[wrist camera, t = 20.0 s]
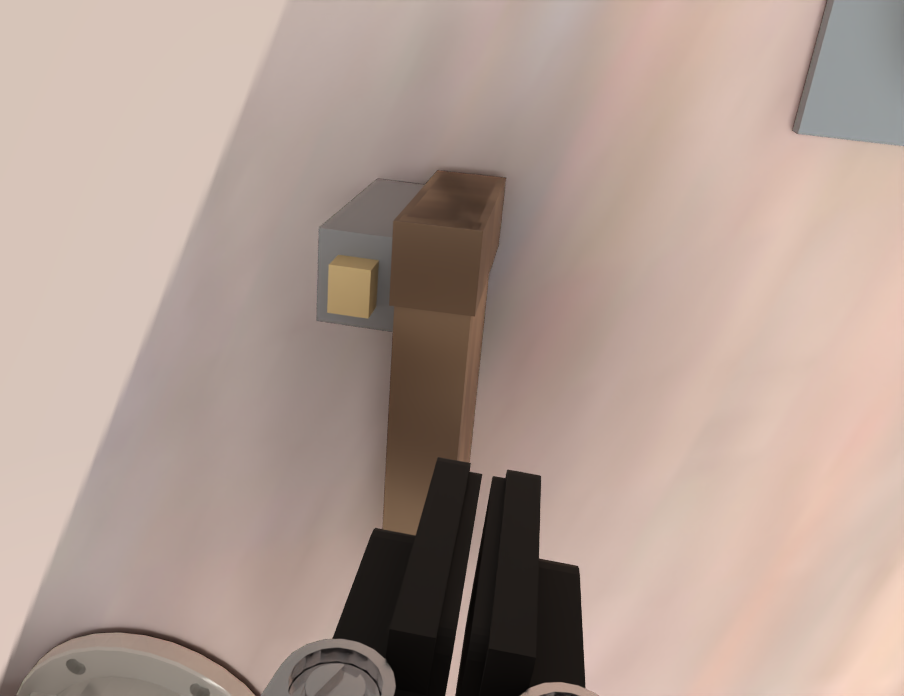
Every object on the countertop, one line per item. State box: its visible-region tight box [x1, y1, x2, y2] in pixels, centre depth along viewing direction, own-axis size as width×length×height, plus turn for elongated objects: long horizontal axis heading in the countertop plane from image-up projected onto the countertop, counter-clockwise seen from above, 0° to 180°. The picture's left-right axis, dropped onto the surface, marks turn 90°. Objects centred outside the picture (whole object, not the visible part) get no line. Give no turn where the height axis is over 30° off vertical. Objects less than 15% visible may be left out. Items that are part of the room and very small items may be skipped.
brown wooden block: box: [383, 170, 506, 535], centre depth 22 cm, size 12×2×6 cm, turn 176°
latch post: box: [316, 179, 424, 332], centre depth 21 cm, size 2×2×7 cm
